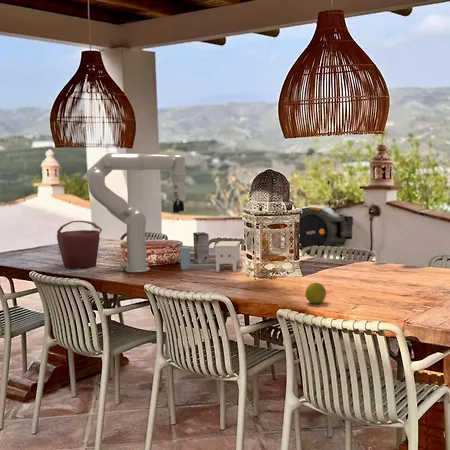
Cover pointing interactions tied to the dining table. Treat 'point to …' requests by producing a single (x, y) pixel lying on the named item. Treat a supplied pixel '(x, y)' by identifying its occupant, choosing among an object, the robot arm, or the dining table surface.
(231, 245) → the cabinet
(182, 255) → the blue-grey u-shaped bracket
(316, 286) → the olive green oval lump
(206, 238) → the coffee box
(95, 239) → the bucket
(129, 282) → the dining table surface
